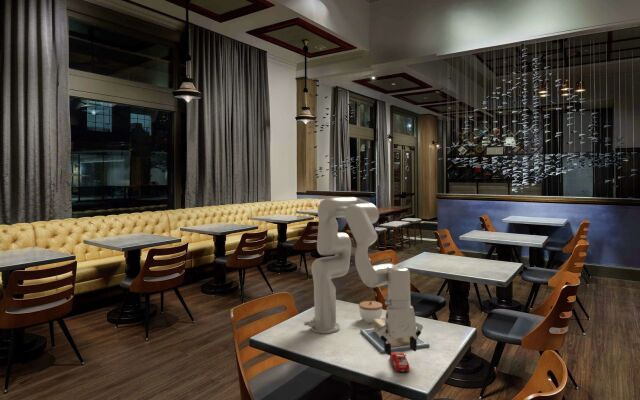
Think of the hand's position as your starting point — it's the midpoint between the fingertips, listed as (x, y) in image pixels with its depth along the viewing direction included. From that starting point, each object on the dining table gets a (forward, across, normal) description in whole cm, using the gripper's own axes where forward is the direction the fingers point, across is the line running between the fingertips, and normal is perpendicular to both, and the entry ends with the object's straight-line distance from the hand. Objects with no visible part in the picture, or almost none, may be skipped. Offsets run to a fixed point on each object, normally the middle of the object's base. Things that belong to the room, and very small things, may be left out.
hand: (400, 351), depth 134 cm
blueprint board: (+4, +8, +22) cm, 23 cm away
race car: (+5, 0, +1) cm, 5 cm away
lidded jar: (+4, +8, +45) cm, 45 cm away
